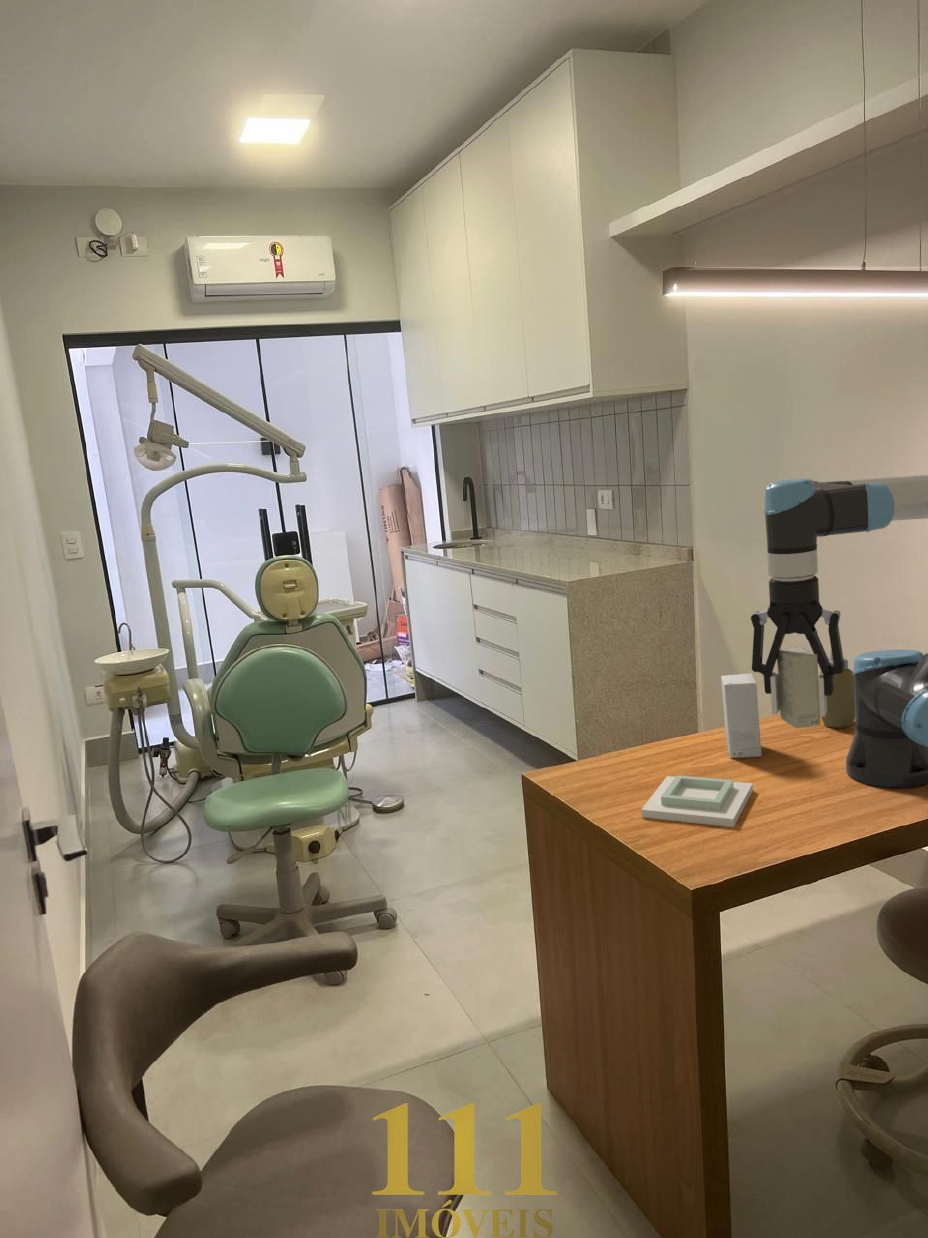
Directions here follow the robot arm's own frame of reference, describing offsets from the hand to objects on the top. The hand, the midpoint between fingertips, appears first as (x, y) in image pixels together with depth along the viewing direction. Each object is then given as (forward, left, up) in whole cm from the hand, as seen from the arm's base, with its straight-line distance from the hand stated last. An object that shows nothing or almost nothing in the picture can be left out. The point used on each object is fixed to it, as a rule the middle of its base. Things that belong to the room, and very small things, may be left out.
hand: (799, 712), depth 149 cm
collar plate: (+18, -1, -19) cm, 26 cm away
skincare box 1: (+16, -29, -19) cm, 38 cm away
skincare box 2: (0, 0, -2) cm, 2 cm away
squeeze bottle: (0, -49, -19) cm, 52 cm away
